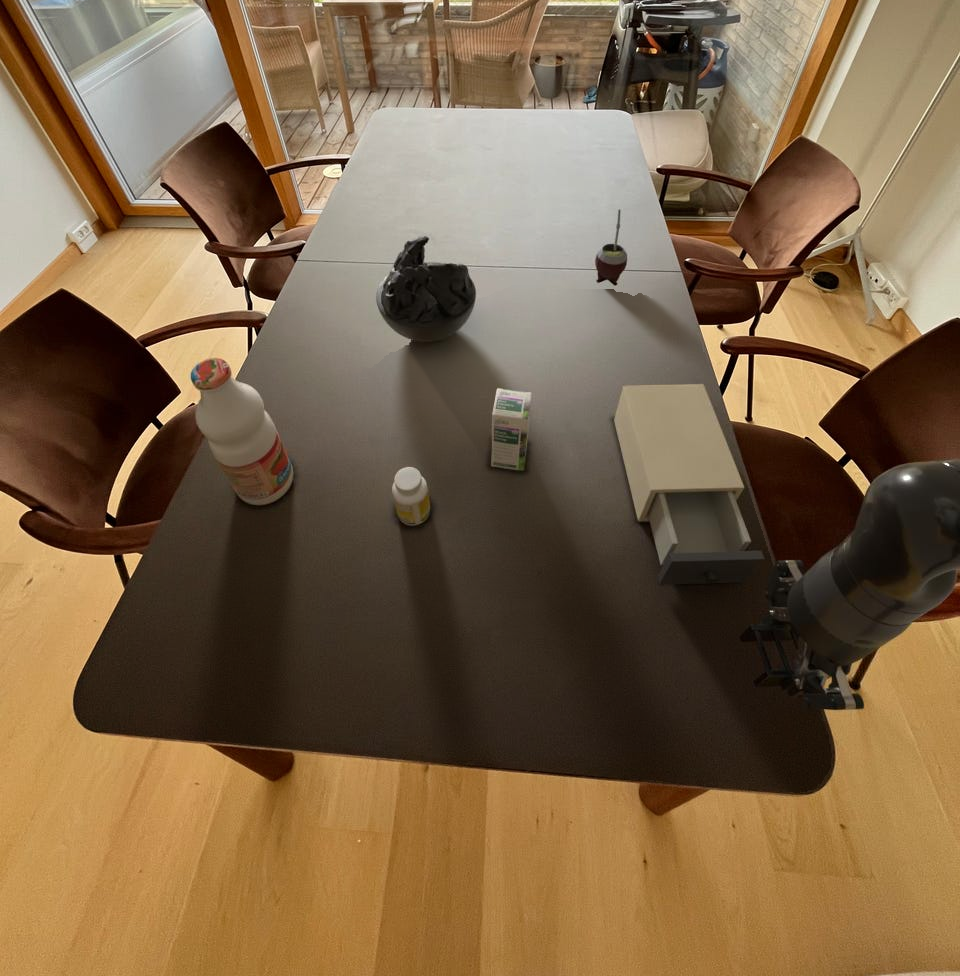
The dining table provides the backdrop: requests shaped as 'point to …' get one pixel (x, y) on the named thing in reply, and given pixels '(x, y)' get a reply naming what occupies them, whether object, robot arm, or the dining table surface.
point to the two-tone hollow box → (701, 538)
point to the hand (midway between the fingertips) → (779, 658)
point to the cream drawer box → (672, 443)
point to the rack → (766, 634)
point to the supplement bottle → (411, 496)
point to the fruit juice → (241, 434)
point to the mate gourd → (611, 260)
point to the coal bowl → (425, 295)
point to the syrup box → (510, 428)
